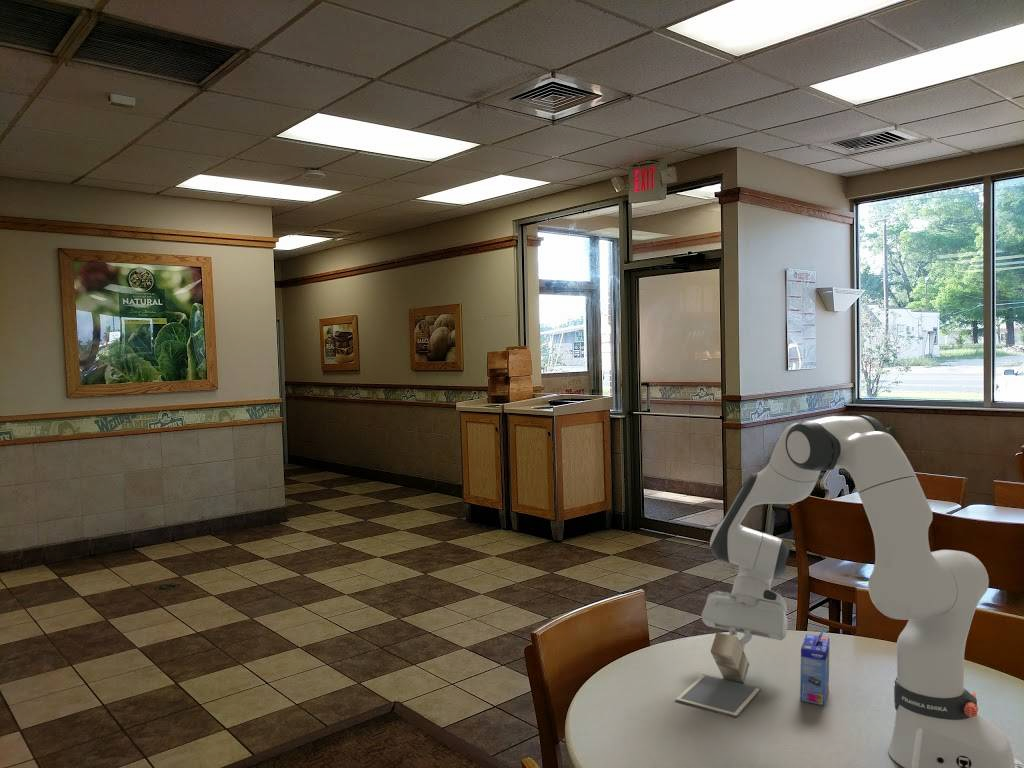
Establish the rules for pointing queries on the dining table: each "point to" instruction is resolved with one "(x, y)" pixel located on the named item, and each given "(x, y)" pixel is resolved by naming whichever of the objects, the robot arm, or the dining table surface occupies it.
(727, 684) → the rubber mat
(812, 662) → the ink cartridge box
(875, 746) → the dining table surface
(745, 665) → the birch block
